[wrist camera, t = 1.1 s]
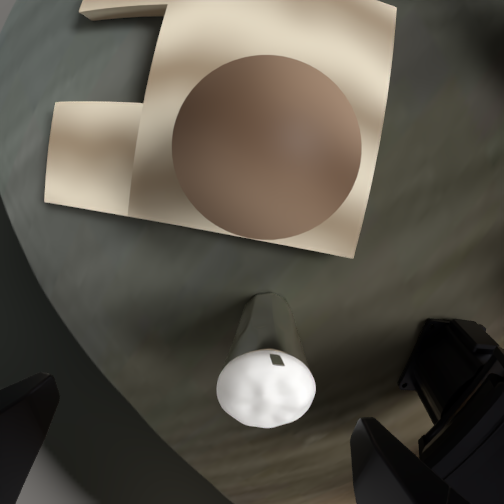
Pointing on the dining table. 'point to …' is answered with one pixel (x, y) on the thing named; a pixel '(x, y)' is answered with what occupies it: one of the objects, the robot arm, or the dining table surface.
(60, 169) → the board
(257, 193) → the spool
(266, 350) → the milkshake
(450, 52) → the dining table surface
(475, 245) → the dining table surface
